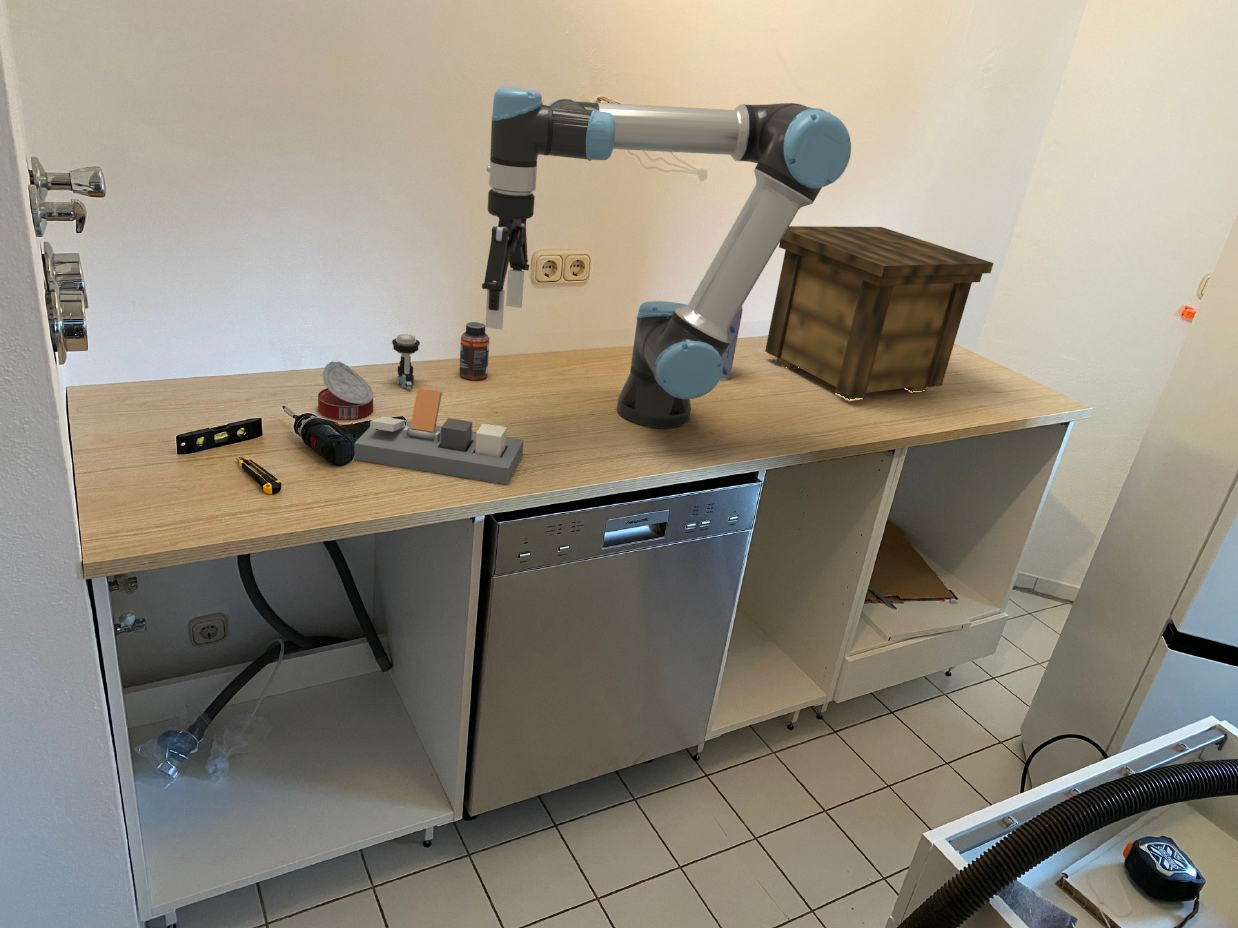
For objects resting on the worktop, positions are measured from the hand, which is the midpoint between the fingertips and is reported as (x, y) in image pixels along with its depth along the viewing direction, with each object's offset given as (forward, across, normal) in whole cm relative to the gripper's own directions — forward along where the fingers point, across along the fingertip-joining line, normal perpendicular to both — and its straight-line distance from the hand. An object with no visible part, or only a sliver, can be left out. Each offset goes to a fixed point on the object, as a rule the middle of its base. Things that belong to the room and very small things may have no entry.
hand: (504, 317), depth 157 cm
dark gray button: (+20, +12, -4) cm, 24 cm away
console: (+23, +12, -7) cm, 27 cm away
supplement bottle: (+23, -28, -13) cm, 38 cm away
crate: (+24, -68, +71) cm, 101 cm away
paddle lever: (+19, +12, -10) cm, 25 cm away
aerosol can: (+23, -54, +38) cm, 70 cm away
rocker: (+18, +12, -16) cm, 27 cm away
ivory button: (+20, +12, +2) cm, 23 cm away
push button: (+23, -16, -23) cm, 36 cm away
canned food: (+23, 0, -29) cm, 37 cm away
